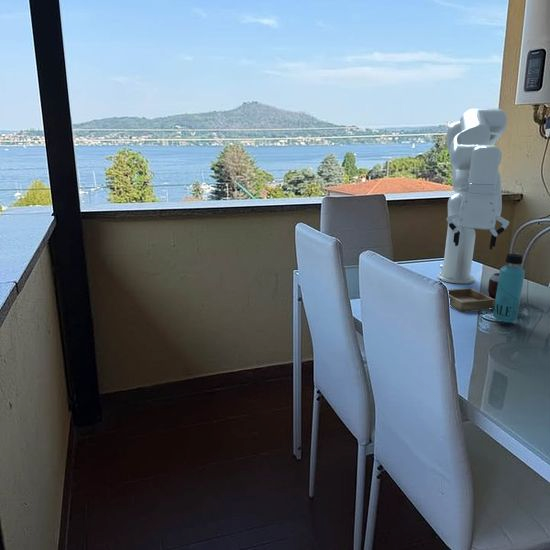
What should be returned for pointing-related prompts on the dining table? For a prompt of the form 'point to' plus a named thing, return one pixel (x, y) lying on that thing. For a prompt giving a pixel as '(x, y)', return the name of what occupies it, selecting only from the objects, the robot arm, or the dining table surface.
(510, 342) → the dining table surface
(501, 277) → the beverage bottle
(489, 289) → the mate gourd
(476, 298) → the tray
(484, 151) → the robot arm
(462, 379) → the dining table surface
